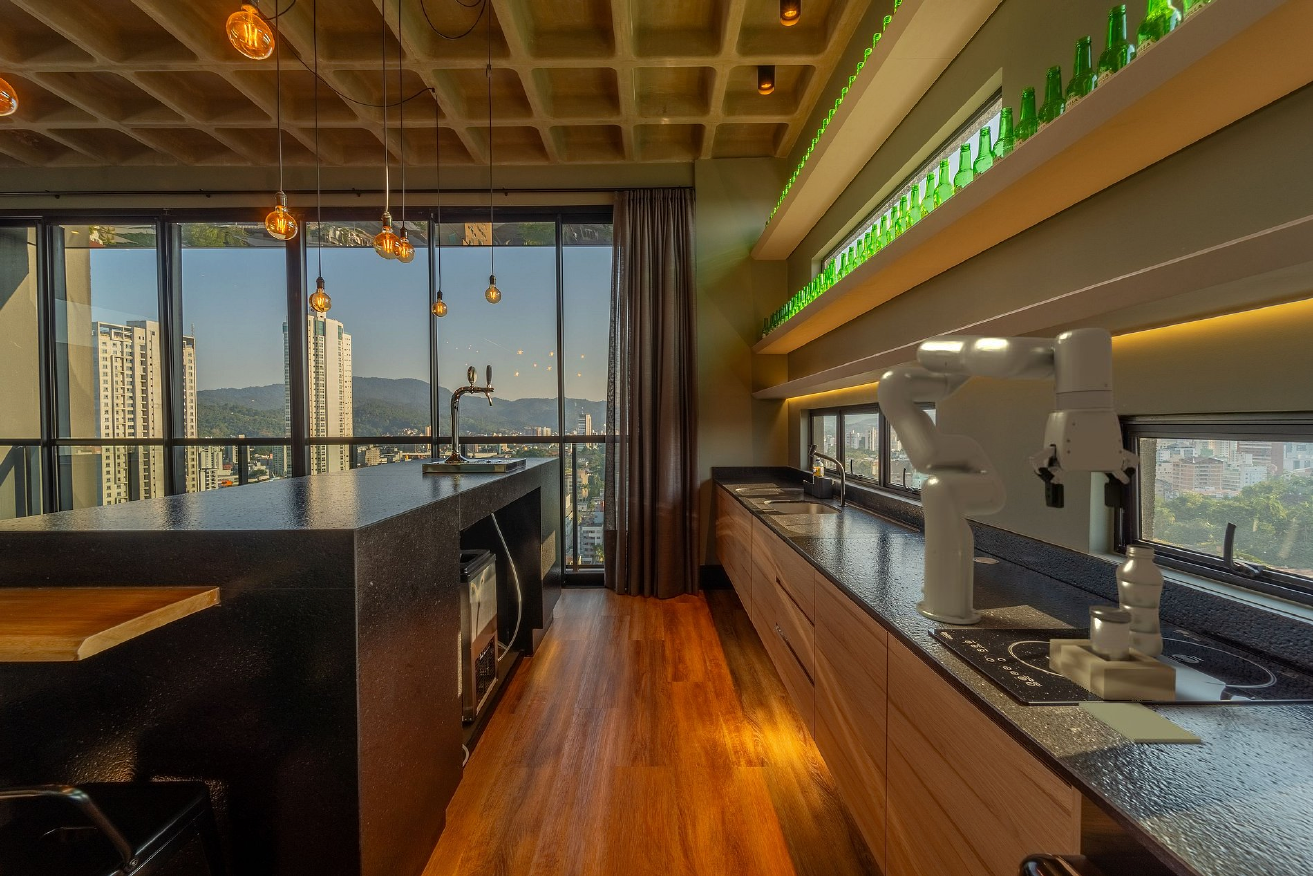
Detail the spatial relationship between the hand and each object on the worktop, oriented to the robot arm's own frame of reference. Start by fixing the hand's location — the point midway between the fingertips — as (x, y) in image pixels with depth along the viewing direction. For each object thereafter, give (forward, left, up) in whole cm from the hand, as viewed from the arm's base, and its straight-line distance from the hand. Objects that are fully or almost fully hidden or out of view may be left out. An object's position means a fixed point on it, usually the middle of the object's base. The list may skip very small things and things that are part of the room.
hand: (1084, 507), depth 86 cm
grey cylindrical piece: (+2, +3, -29) cm, 29 cm away
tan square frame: (+2, +3, -29) cm, 29 cm away
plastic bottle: (-9, +18, -29) cm, 35 cm away
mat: (+13, -3, -29) cm, 32 cm away
